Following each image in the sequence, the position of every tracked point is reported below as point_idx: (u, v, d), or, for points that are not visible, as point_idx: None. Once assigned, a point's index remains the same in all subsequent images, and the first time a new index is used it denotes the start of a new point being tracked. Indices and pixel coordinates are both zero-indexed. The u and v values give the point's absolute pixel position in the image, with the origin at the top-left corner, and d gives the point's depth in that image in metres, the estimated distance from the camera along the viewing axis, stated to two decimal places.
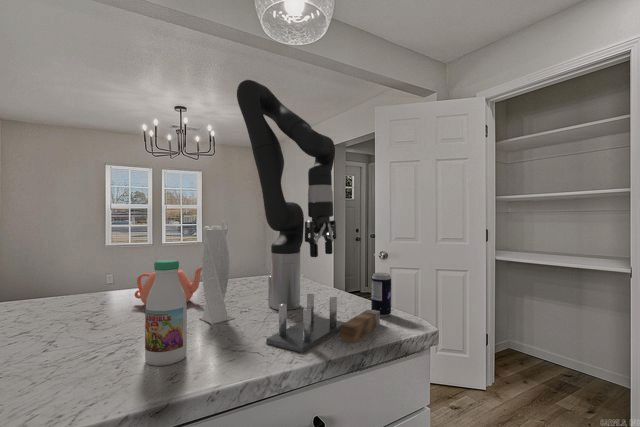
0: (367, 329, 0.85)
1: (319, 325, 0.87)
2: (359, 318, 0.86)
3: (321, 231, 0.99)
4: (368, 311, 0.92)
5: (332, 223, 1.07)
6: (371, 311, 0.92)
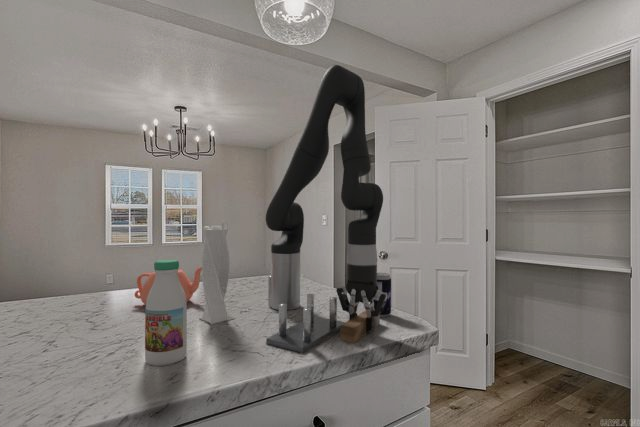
0: None
1: (319, 325, 0.87)
2: (359, 318, 0.86)
3: None
4: None
5: None
6: None
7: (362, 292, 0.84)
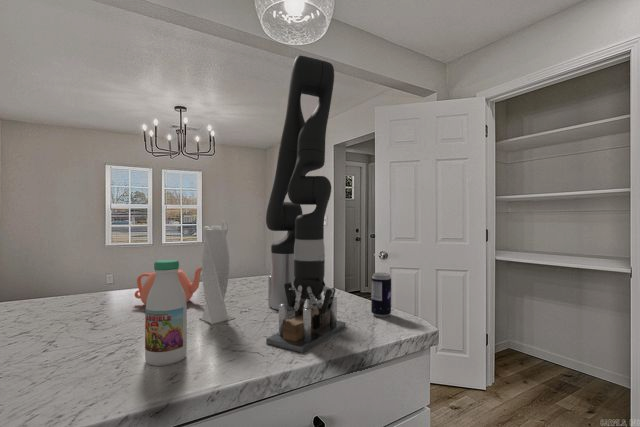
0: None
1: None
2: None
3: None
4: None
5: None
6: None
7: (308, 289, 0.82)
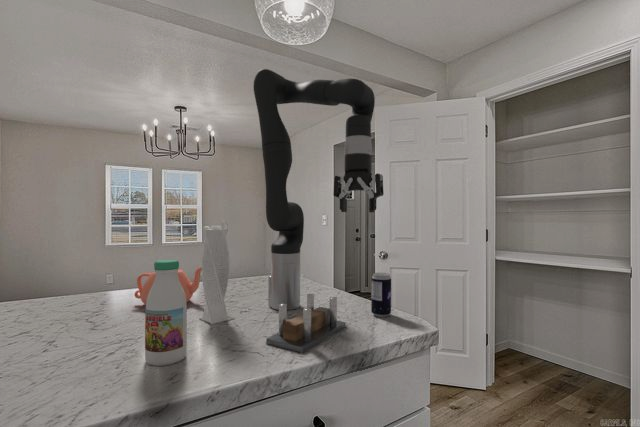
0: (314, 327, 0.83)
1: None
2: None
3: None
4: (319, 309, 0.90)
5: None
6: (322, 309, 0.90)
7: (358, 179, 0.94)
